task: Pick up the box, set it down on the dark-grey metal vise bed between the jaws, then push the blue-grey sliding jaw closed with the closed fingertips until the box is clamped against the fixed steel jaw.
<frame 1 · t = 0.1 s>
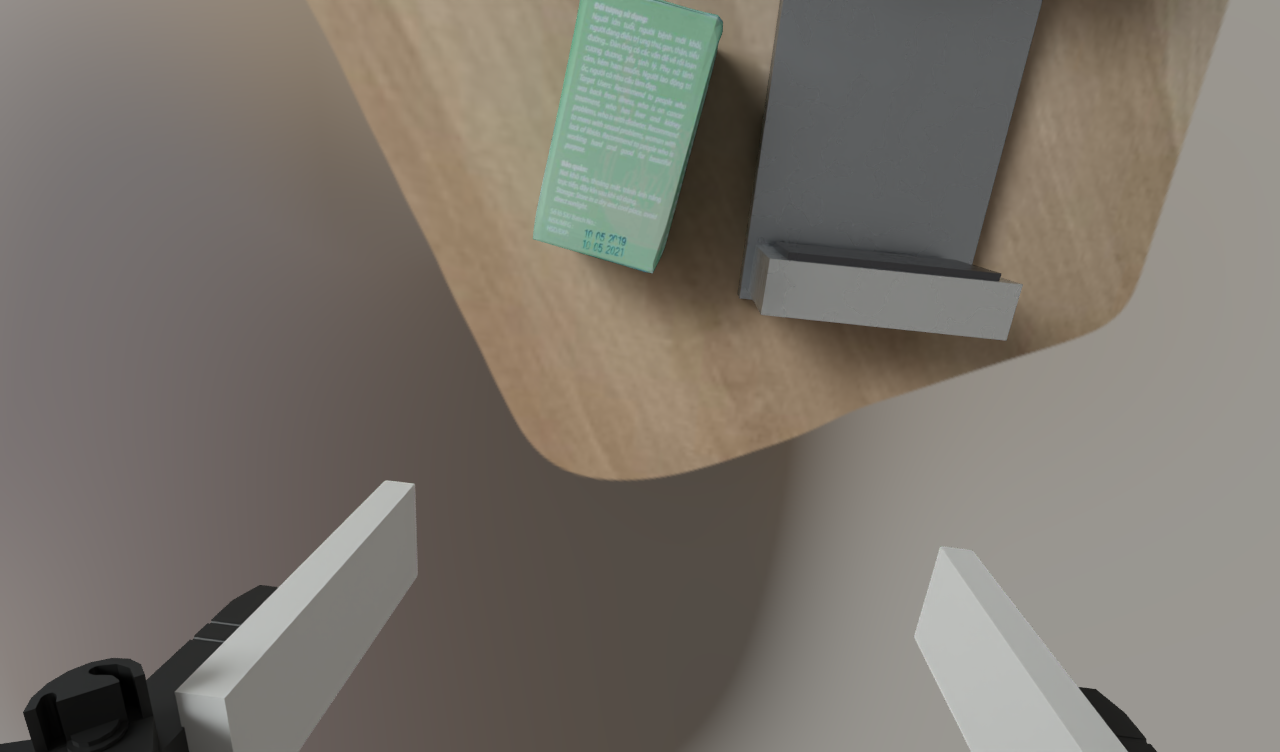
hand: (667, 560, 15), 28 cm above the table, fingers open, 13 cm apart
box: (634, 141, 39), on the table
vise: (884, 93, 36), on the table
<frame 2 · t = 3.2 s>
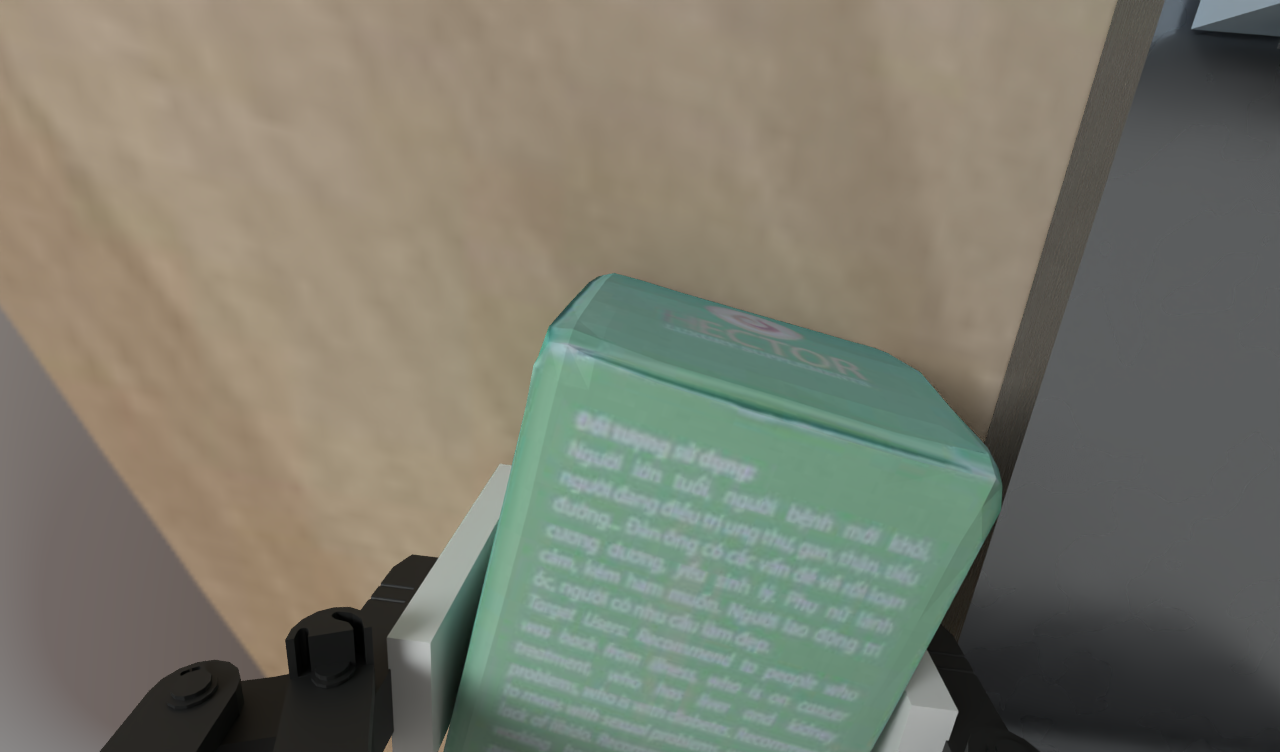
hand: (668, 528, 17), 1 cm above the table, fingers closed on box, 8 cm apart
box: (669, 512, 18), on the table, touching gripper
vise: (1273, 441, 15), on the table
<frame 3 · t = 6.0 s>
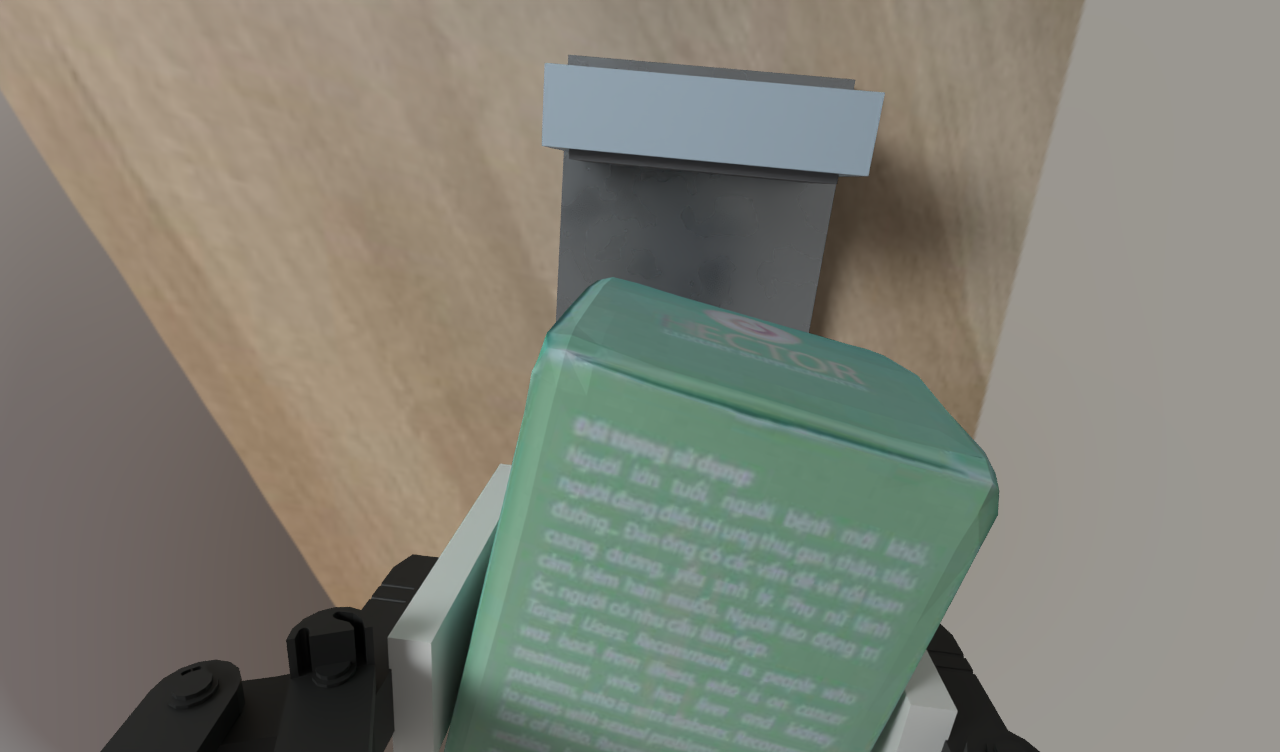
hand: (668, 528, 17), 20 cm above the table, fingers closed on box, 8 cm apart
jaw: (704, 132, 27), point 5 cm above the table, slide at 0.0 cm
box: (668, 514, 18), point 19 cm above the table, touching gripper
vise: (681, 320, 35), on the table
when the fingers open (4 cm above the table, at t = 8.8 s): box drops 1 cm, resting on vise.
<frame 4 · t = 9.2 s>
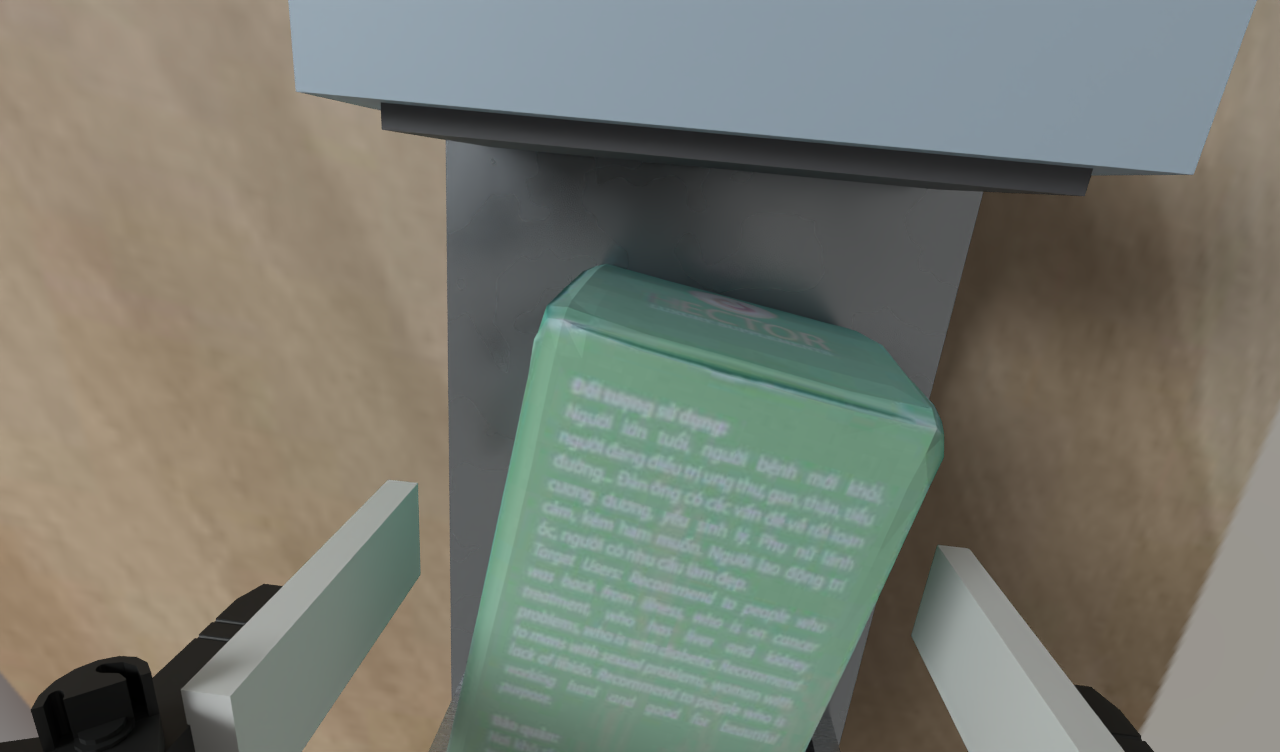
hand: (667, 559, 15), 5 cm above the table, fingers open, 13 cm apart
jaw: (727, 72, 12), point 5 cm above the table, slide at 0.0 cm
box: (664, 487, 19), point 1 cm above the table, touching vise
vise: (676, 430, 20), on the table
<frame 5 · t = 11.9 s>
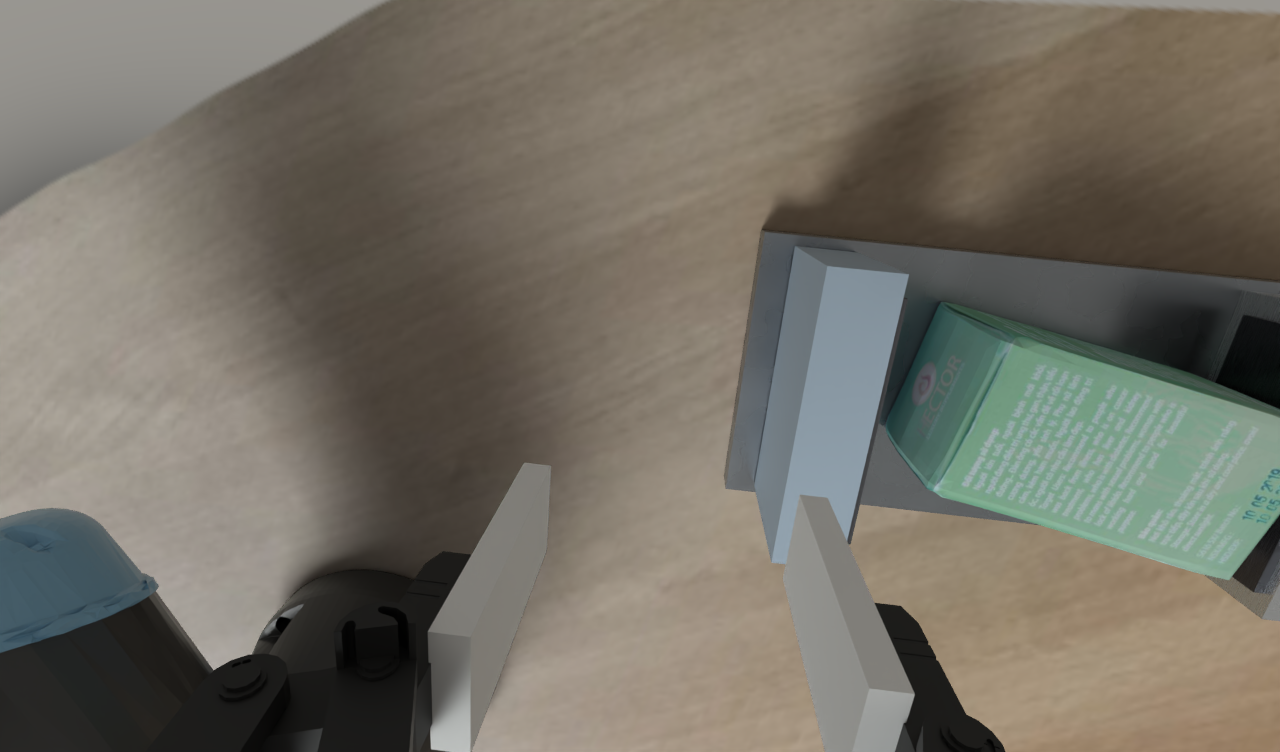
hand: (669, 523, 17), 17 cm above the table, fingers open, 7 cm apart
jaw: (820, 401, 28), point 5 cm above the table, slide at 0.0 cm
box: (1024, 398, 31), point 1 cm above the table, touching vise
vise: (984, 387, 32), on the table
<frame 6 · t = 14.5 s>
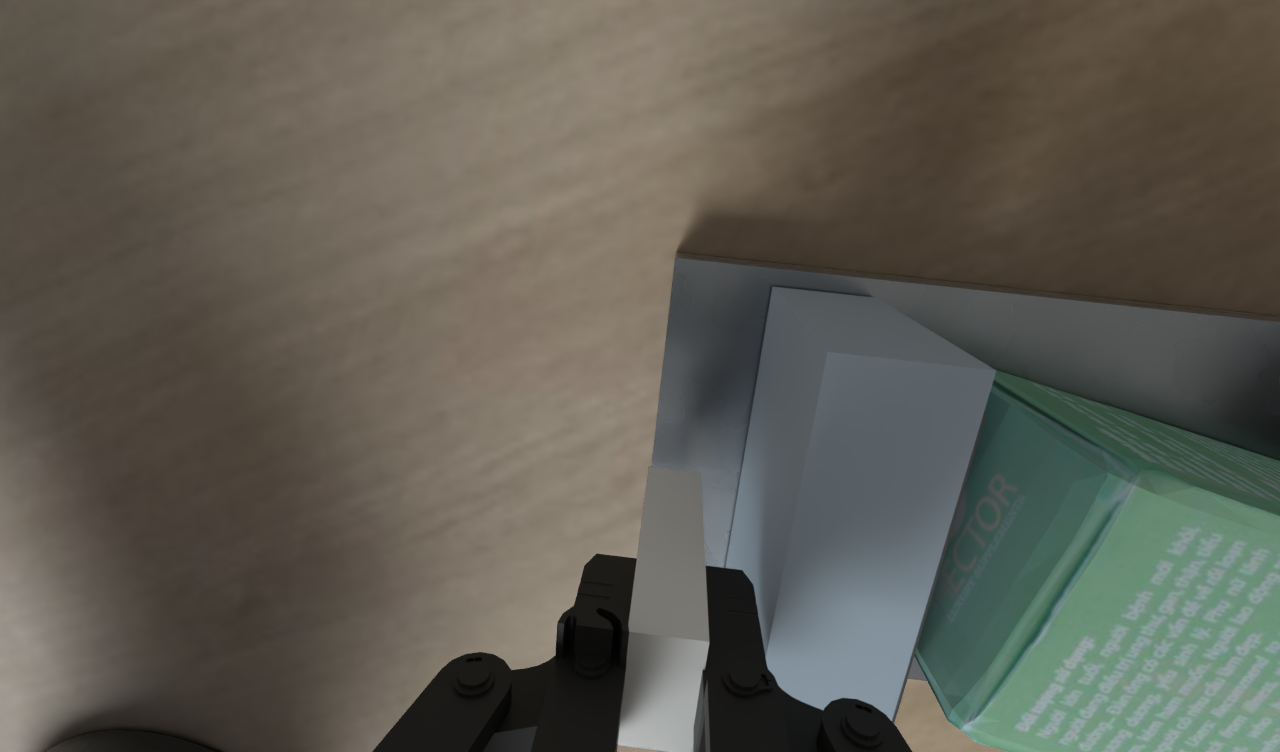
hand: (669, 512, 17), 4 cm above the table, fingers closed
jaw: (814, 555, 16), point 5 cm above the table, slide at 1.4 cm, touching gripper
box: (1096, 517, 19), point 1 cm above the table, touching vise
vise: (1026, 496, 21), on the table
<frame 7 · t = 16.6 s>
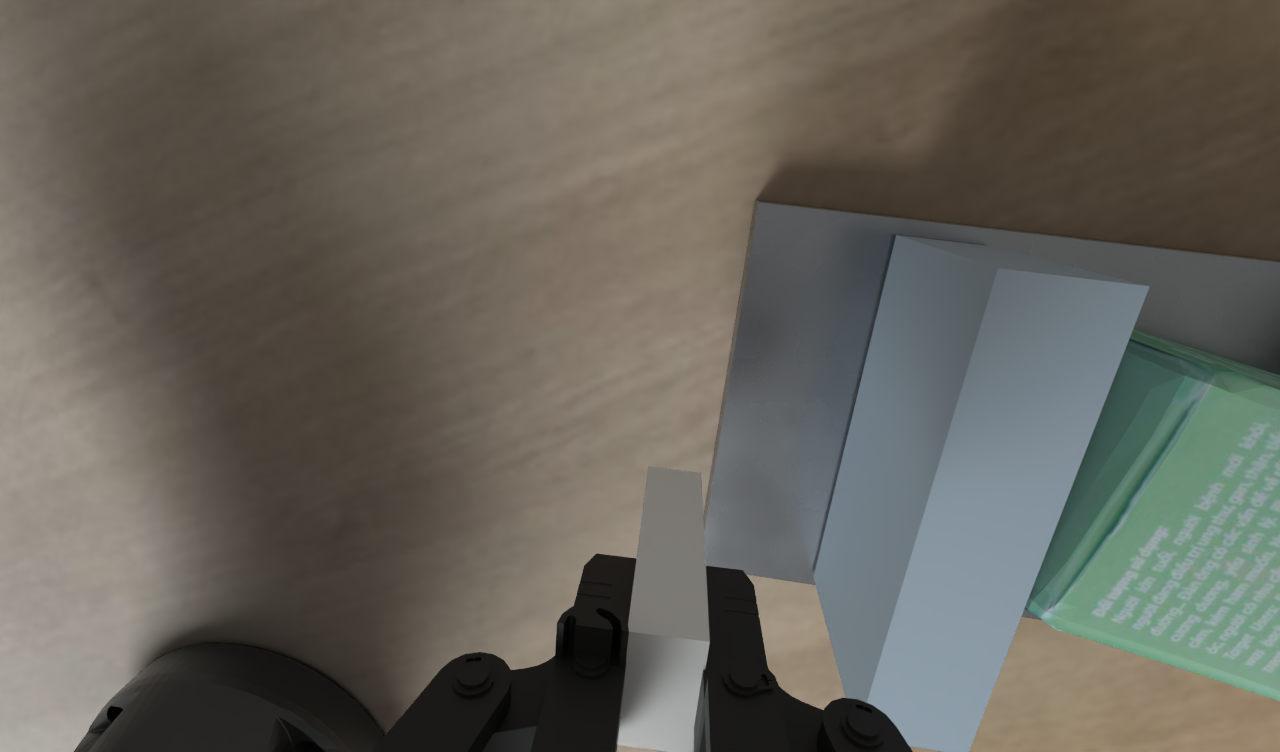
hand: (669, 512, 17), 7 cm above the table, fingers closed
jaw: (936, 477, 18), point 5 cm above the table, slide at 2.9 cm
box: (1157, 452, 21), point 1 cm above the table, touching vise
vise: (1076, 437, 22), on the table
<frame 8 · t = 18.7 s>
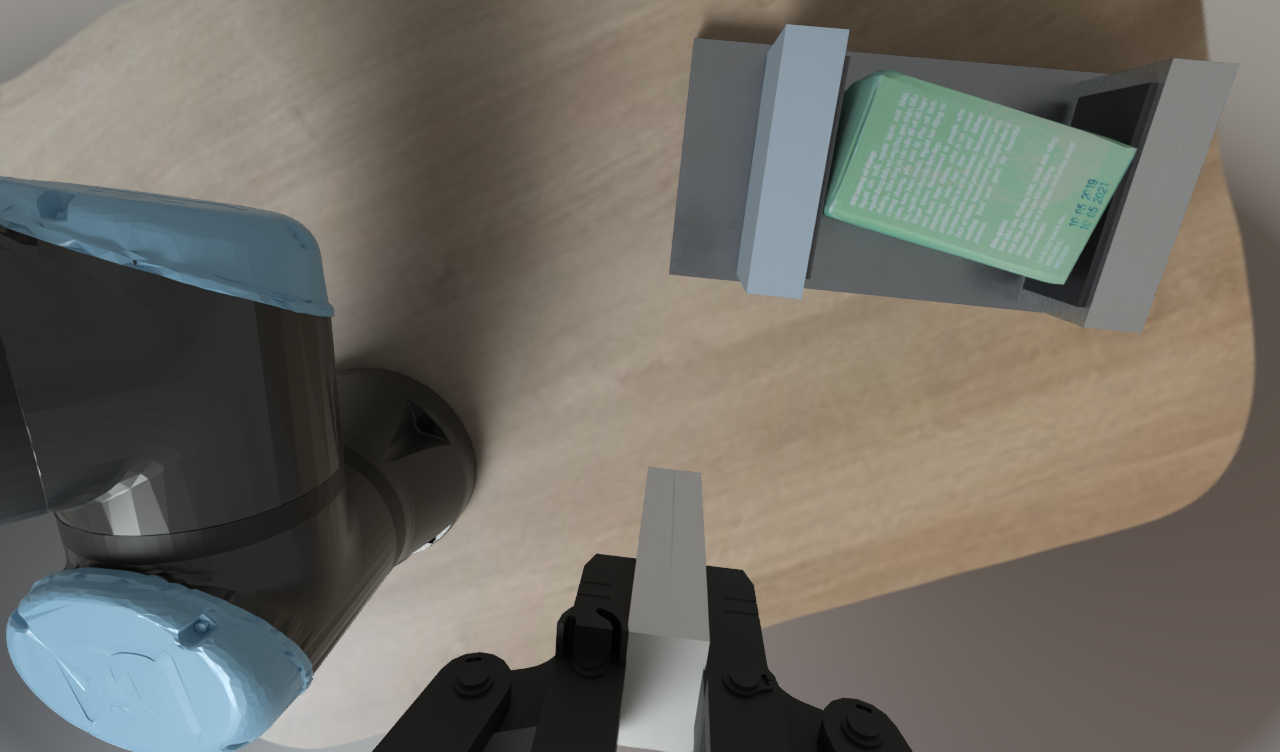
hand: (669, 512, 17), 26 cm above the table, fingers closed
jaw: (787, 171, 34), point 5 cm above the table, slide at 2.9 cm
box: (920, 179, 37), point 1 cm above the table, touching vise
vise: (882, 182, 39), on the table
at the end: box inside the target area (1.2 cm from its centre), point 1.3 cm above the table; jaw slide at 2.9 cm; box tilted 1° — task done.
